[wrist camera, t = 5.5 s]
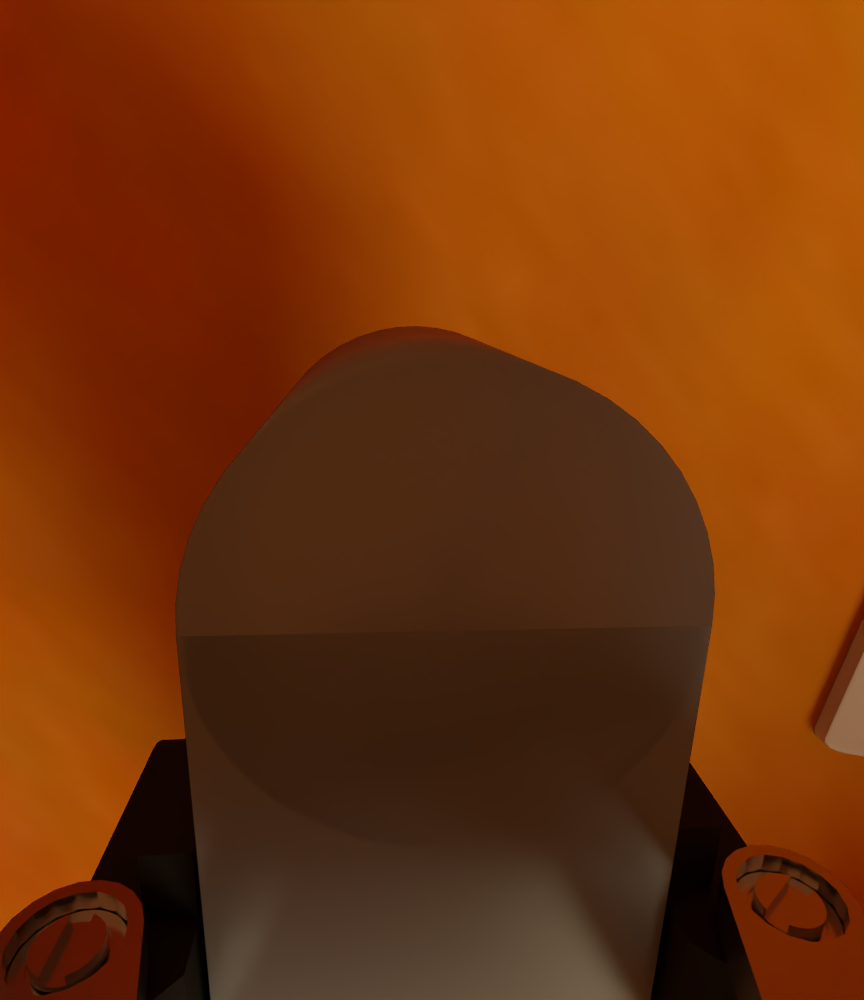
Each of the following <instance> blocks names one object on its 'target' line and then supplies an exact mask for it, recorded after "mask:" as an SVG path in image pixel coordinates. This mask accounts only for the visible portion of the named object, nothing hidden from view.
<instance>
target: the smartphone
mask: <svg viewBox="0 0 864 1000" xmlns="http://www.w3.org/2000/svg"><path fill="white" fill-rule="evenodd" d="M814 733H815V734H816V735H817V737H818V738H820V739H821V740H822V741H823V742H824V743H825V744H826V745H827V746H828V747H830V748H831V749H833V750H835V751H838V752H842V753H847V754H853V755H858V756H864V617H863V620H862V622H861V624H860V626H859V629H858V631H857V633H856V635H855V638H854V640H853V642H852V644H851V647H850V649H849V651H848V653H847V656H846V658H845V660H844V662H843V665H842V667H841V669H840V671H839V674H838V676H837V678H836V680H835V683H834V685H833V687H832V689H831V692H830V694H829V696H828V698H827V701H826V703H825V705H824V707H823V710H822V712H821V714H820V716H819V719H818V721H817V723H816V725H815V728H814Z"/></svg>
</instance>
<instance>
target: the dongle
mask: <svg viewBox="0 0 864 1000" xmlns="http://www.w3.org/2000/svg"><path fill="white" fill-rule="evenodd" d="M714 597H715V590H714V567H713V559H712V554H711V549H710V543H709V538H708V533H707V530H706V527H705V524H704V521H703V518H702V515H701V512H700V509H699V507H698V504H697V501H696V499H695V497H694V495H693V493H692V492H691V490H690V488H689V486H688V484H687V482H686V480H685V478H684V476H683V474H682V472H681V471H680V470H679V468H678V467H677V466H676V464H675V463H674V461H673V460H672V459H671V457H670V456H669V455H668V453H667V452H666V451H665V449H664V448H663V446H662V445H661V444H660V443H659V442H658V441H657V440H656V439H655V438H654V437H653V436H652V435H651V434H650V433H649V432H648V431H647V430H646V429H645V428H644V427H643V426H642V425H641V424H640V423H639V422H638V421H637V420H636V419H635V418H633V417H632V416H631V415H629V414H628V413H627V412H625V411H624V410H623V409H621V408H620V407H619V406H617V405H616V404H615V403H613V402H612V401H611V400H609V399H608V398H606V397H604V396H602V395H601V394H599V393H597V392H595V391H593V390H591V389H590V388H588V387H586V386H584V385H582V384H581V383H579V382H577V381H575V380H572V379H570V378H567V377H565V376H562V375H560V374H557V373H555V372H553V371H550V370H548V369H545V368H543V367H540V366H538V365H536V364H533V363H531V362H528V361H526V360H523V359H521V358H519V357H516V356H514V355H511V354H509V353H506V352H504V351H502V350H499V349H497V348H494V347H492V346H489V345H487V344H484V343H482V342H480V341H477V340H475V339H472V338H469V337H467V336H464V335H462V334H459V333H456V332H452V331H448V330H443V329H439V328H431V327H420V326H411V327H395V328H390V329H384V330H379V331H375V332H372V333H369V334H366V335H363V336H360V337H357V338H355V339H353V340H351V341H349V342H347V343H345V344H343V345H340V346H339V347H337V348H336V349H334V350H333V351H331V352H330V353H328V354H327V355H325V356H324V357H323V358H321V359H320V360H319V361H318V362H317V363H316V364H315V365H314V366H312V367H311V368H310V369H309V370H308V371H307V372H306V373H305V375H304V376H303V377H302V378H301V379H300V380H299V382H298V383H297V384H296V385H295V386H294V387H293V389H292V390H291V391H290V392H289V394H288V395H287V396H286V397H285V398H284V400H283V401H282V402H281V403H280V404H279V406H278V407H277V408H276V409H275V411H274V412H273V413H272V414H271V415H270V417H269V418H268V419H267V420H266V422H265V423H264V424H263V425H262V426H261V428H260V429H259V430H258V431H257V432H256V434H255V435H254V436H253V437H252V439H251V440H250V441H249V442H248V443H247V445H246V446H245V447H244V448H243V449H242V451H241V452H240V453H239V454H238V456H237V457H236V458H235V459H234V460H233V462H232V463H231V464H230V465H229V467H228V468H227V469H226V470H225V471H224V473H223V474H222V476H221V478H220V479H219V481H218V482H217V484H216V485H215V487H214V489H213V490H212V492H211V493H210V495H209V496H208V498H207V499H206V501H205V503H204V505H203V507H202V509H201V511H200V514H199V516H198V518H197V520H196V522H195V525H194V527H193V529H192V531H191V533H190V536H189V539H188V543H187V546H186V550H185V553H184V557H183V560H182V564H181V567H180V572H179V580H178V588H177V595H176V603H175V604H176V640H177V651H178V661H179V672H180V682H181V693H182V703H183V714H184V724H185V735H186V745H187V756H188V766H189V777H190V787H191V798H192V808H193V819H194V829H195V840H196V850H197V861H198V871H199V882H200V892H201V903H202V913H203V924H204V934H205V945H206V955H207V966H208V976H209V987H210V997H211V1000H651V994H652V987H653V981H654V975H655V969H656V963H657V957H658V951H659V945H660V939H661V933H662V926H663V920H664V914H665V908H666V902H667V896H668V890H669V884H670V878H671V872H672V865H673V859H674V853H675V847H676V841H677V835H678V829H679V823H680V817H681V811H682V804H683V798H684V792H685V786H686V780H687V774H688V768H689V762H690V756H691V750H692V743H693V737H694V731H695V725H696V719H697V713H698V707H699V701H700V695H701V689H702V682H703V676H704V670H705V664H706V658H707V652H708V646H709V640H710V634H711V628H712V618H713V608H714Z"/></svg>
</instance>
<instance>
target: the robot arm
mask: <svg viewBox="0 0 864 1000" xmlns="http://www.w3.org/2000/svg"><path fill="white" fill-rule="evenodd" d="M0 1000H211V997H210V987H209V976H208V966H207V955H206V945H205V934H204V924H203V913H202V903H201V892H200V882H199V871H198V861H197V850H196V840H195V829H194V819H193V808H192V798H191V787H190V777H189V766H188V756H187V745H186V738H185V739H176V740H161V741H159V742H157V744H156V746H155V747H154V749H153V751H152V753H151V755H150V757H149V759H148V761H147V763H146V766H145V768H144V770H143V772H142V774H141V776H140V778H139V780H138V782H137V785H136V787H135V789H134V791H133V793H132V795H131V797H130V799H129V801H128V803H127V806H126V808H125V810H124V812H123V814H122V816H121V818H120V820H119V822H118V825H117V827H116V829H115V831H114V833H113V835H112V837H111V839H110V841H109V844H108V846H107V848H106V850H105V852H104V854H103V856H102V858H101V860H100V863H99V865H98V867H97V869H96V871H95V873H94V875H93V877H92V879H91V881H85V882H78V883H75V884H72V885H68V886H65V887H62V888H59V889H56V890H54V891H52V892H50V893H49V894H47V895H45V896H43V897H41V898H39V899H37V900H36V901H34V902H32V903H31V904H30V905H28V906H27V907H26V908H25V909H23V910H22V911H21V912H20V913H18V914H17V915H16V916H14V917H13V918H12V919H11V920H10V921H9V923H8V924H7V925H6V926H5V927H4V928H3V930H2V931H1V932H0ZM651 1000H864V911H863V909H862V907H861V905H860V904H859V902H858V901H857V900H856V898H855V897H854V896H853V894H852V893H851V891H850V890H849V889H848V887H847V886H846V885H845V884H843V883H842V882H841V881H840V880H839V879H838V878H837V877H836V876H835V875H833V874H832V873H831V872H830V871H829V870H827V869H825V868H824V867H822V866H821V865H819V864H818V863H816V862H814V861H813V860H811V859H809V858H807V857H805V856H802V855H800V854H798V853H795V852H793V851H790V850H787V849H783V848H778V847H774V846H769V845H750V846H747V845H746V844H745V842H744V841H743V839H742V838H741V836H740V835H739V834H738V832H737V831H736V829H735V828H734V826H733V825H732V823H731V822H730V820H729V819H728V818H727V816H726V815H725V813H724V812H723V810H722V809H721V807H720V806H719V804H718V803H717V801H716V800H715V799H714V797H713V796H712V794H711V793H710V791H709V790H708V788H707V787H706V785H705V784H704V783H703V781H702V780H701V778H700V777H699V775H698V774H697V772H696V771H695V769H694V768H693V767H692V765H691V764H690V762H689V768H688V774H687V780H686V786H685V792H684V798H683V804H682V811H681V817H680V823H679V829H678V835H677V841H676V847H675V853H674V859H673V865H672V872H671V878H670V884H669V890H668V896H667V902H666V908H665V914H664V920H663V926H662V933H661V939H660V945H659V951H658V957H657V963H656V969H655V975H654V981H653V987H652V994H651Z"/></svg>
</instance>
